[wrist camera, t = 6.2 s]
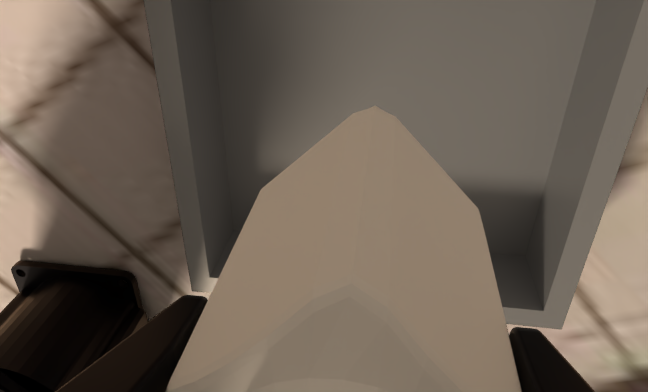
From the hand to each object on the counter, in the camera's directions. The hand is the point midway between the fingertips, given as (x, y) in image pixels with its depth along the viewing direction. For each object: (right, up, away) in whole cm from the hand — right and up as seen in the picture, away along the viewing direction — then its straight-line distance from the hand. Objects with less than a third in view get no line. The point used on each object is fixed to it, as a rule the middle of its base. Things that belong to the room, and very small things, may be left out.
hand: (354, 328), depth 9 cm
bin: (+2, +6, +10) cm, 12 cm away
